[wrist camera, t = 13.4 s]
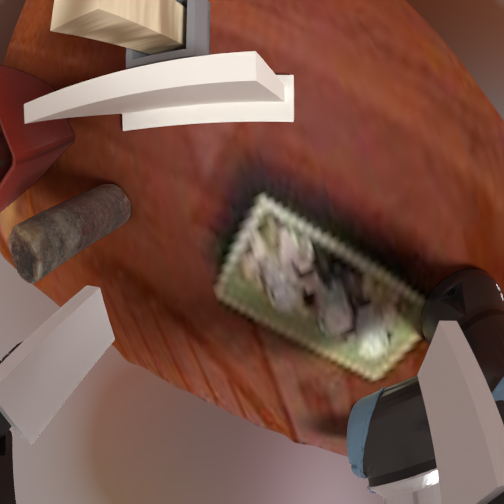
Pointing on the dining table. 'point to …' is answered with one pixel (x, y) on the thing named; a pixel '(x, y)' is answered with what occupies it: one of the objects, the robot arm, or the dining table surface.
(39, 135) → the plant pot
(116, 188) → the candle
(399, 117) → the dining table surface
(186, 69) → the cup bracket
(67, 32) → the rail
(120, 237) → the dining table surface
